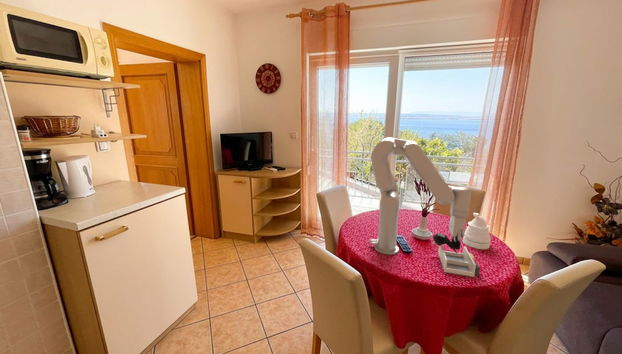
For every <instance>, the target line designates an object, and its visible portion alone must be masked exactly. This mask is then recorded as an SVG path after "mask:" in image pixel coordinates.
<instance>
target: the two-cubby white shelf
mask: <svg viewBox="0 0 622 354" xmlns="http://www.w3.org/2000/svg"><path fill="white" fill-rule="evenodd" d="M469 253H470V252H469V251H468V249H467V247H466V246H463V250H462V253H461V252H457V253H456V252H455V251H448V250H444V248H443V245H441V246H439V245H438V253H437V255H438V258H439V260H440V263H441V267H442V270H443V271H444V274H451V275H457V276H464V277H468V278H469V277H470V278H475V268H476V264H475V262H476V261H475V260H474V261H473V259H472V257H471V256H470V254H469Z"/></svg>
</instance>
